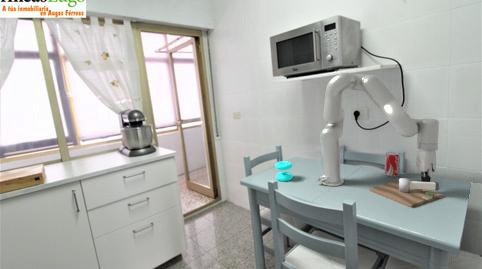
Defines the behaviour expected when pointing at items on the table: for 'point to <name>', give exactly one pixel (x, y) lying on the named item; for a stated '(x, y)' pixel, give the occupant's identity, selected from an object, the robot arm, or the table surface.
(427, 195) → the brown wooden cutting board
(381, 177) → the table surface
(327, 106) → the robot arm
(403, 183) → the white elongated piece
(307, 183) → the table surface
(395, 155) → the soda can
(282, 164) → the donuts
